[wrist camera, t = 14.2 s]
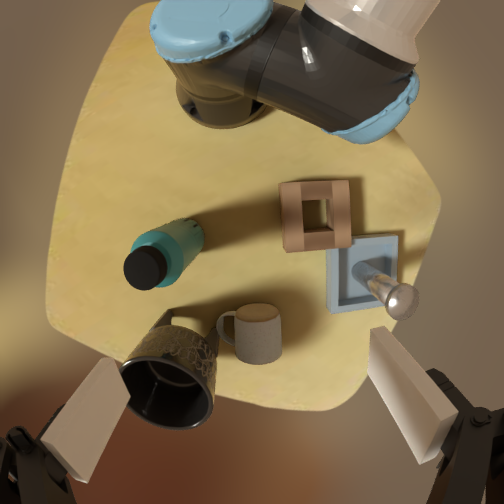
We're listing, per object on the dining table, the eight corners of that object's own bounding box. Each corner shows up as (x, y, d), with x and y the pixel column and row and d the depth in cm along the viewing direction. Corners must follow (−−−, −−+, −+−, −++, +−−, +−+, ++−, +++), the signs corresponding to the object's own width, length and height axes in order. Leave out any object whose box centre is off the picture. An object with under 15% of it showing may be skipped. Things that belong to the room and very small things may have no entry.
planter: (216, 296, 45) (198, 353, 28) (230, 360, 48) (223, 430, 30) (145, 304, 45) (100, 357, 28) (165, 365, 48) (136, 428, 31)
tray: (325, 238, 43) (330, 241, 40) (389, 233, 43) (398, 235, 40) (326, 306, 46) (331, 314, 43) (387, 298, 46) (394, 303, 43)
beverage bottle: (209, 219, 43) (177, 239, 23) (204, 260, 44) (171, 310, 24) (169, 213, 42) (111, 230, 23) (166, 254, 44) (110, 297, 24)
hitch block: (278, 184, 42) (281, 182, 38) (340, 181, 41) (348, 180, 38) (283, 247, 44) (286, 252, 40) (342, 242, 43) (351, 247, 40)
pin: (348, 259, 43) (390, 288, 29) (372, 256, 43) (420, 283, 29) (348, 285, 44) (387, 323, 30) (372, 282, 44) (416, 317, 30)
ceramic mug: (278, 298, 45) (282, 318, 38) (280, 340, 47) (284, 365, 39) (215, 302, 46) (208, 322, 38) (220, 344, 47) (215, 368, 40)
